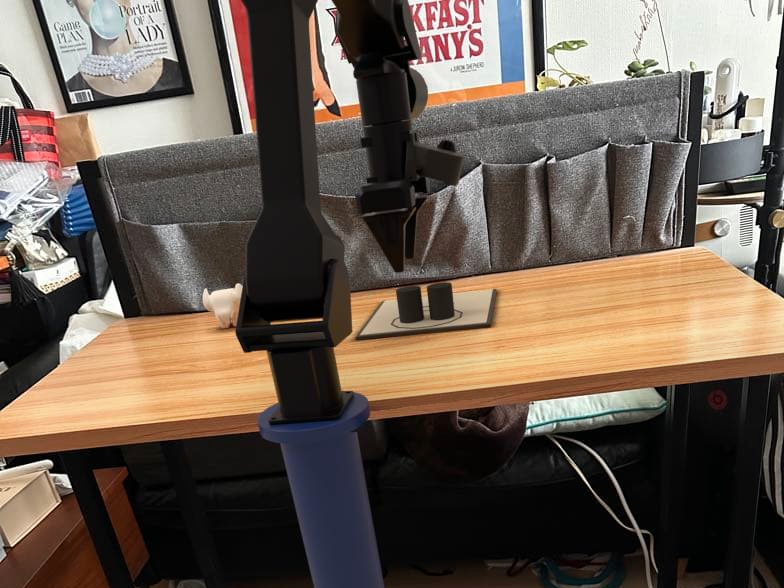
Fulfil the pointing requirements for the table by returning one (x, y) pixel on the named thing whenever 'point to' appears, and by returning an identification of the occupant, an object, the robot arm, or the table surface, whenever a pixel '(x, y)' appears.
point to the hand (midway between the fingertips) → (405, 265)
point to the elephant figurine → (224, 304)
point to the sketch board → (468, 311)
